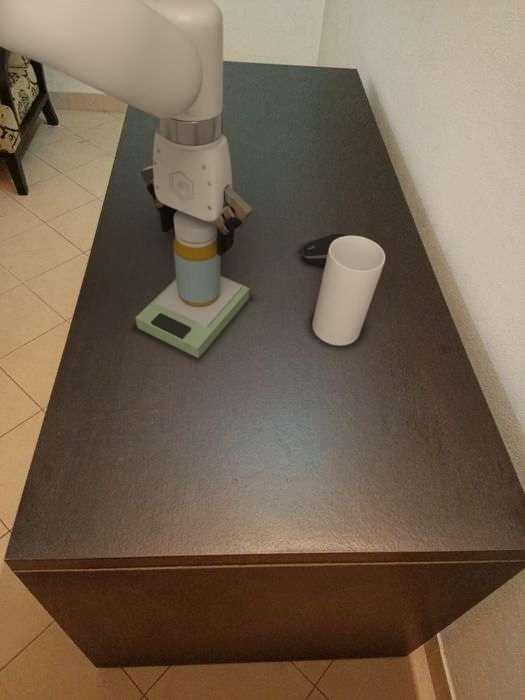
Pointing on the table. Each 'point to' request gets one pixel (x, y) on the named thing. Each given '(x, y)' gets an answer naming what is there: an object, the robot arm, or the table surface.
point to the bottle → (196, 259)
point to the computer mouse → (319, 249)
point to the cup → (347, 288)
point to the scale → (191, 317)
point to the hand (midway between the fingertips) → (196, 239)
